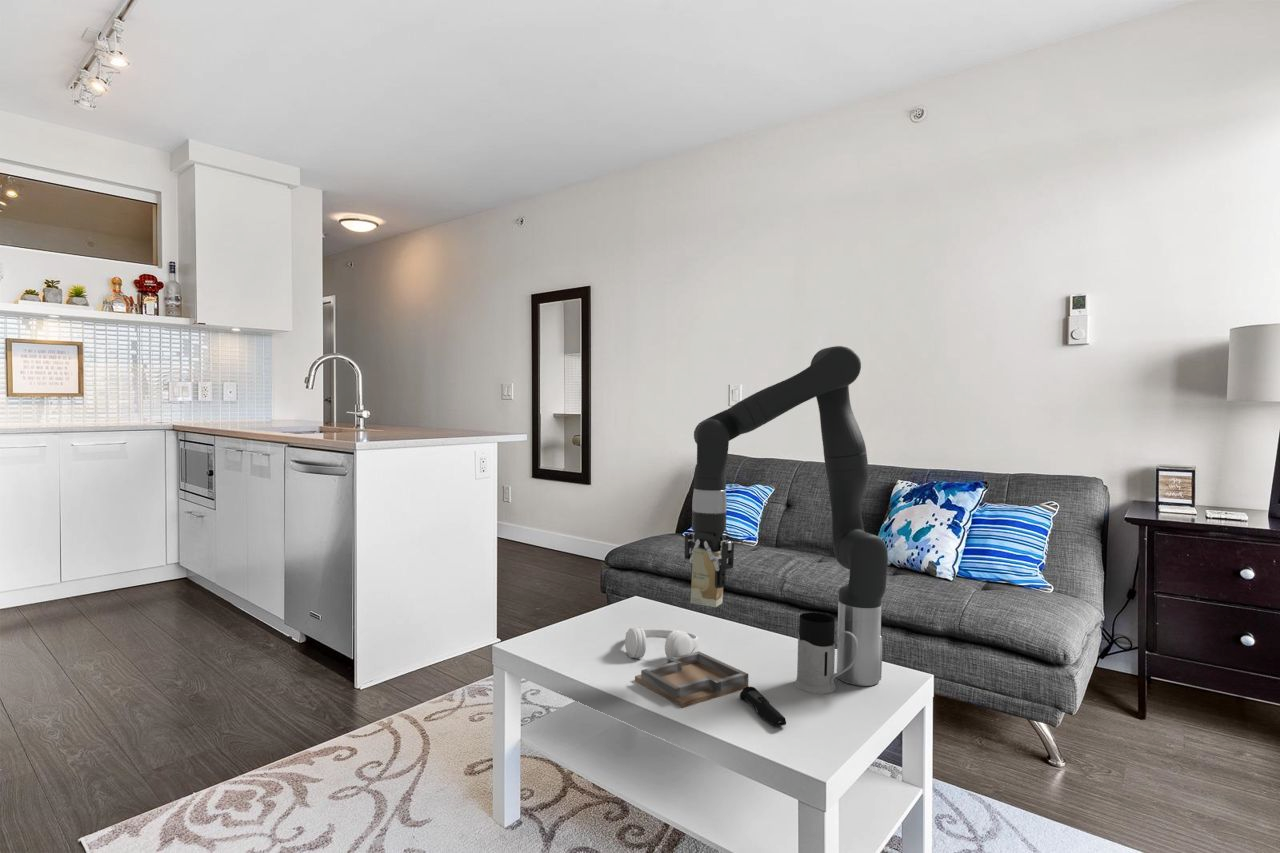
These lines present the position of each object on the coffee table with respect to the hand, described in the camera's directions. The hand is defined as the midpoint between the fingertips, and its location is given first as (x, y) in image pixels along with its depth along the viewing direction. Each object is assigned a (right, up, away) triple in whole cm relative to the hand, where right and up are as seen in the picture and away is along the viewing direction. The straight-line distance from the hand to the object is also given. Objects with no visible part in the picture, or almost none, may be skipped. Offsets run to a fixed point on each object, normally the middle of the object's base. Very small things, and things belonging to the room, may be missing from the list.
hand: (707, 583), depth 148 cm
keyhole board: (-4, -21, -2) cm, 22 cm away
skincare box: (0, -5, 0) cm, 5 cm away
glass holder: (+25, -22, -3) cm, 34 cm away
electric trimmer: (+10, -22, -15) cm, 29 cm away
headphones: (-10, -22, +19) cm, 31 cm away
